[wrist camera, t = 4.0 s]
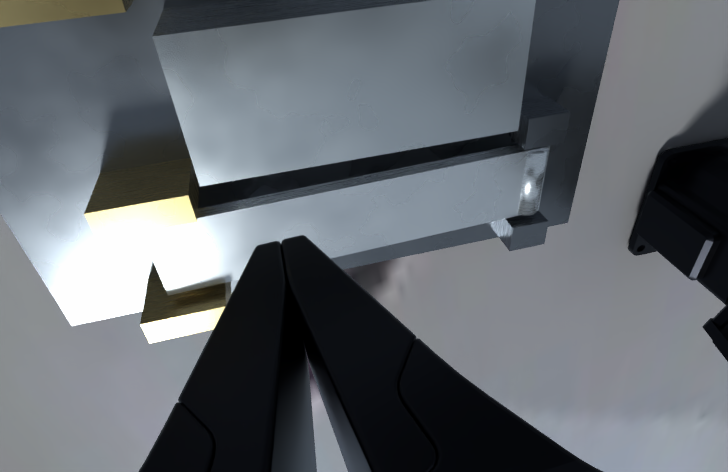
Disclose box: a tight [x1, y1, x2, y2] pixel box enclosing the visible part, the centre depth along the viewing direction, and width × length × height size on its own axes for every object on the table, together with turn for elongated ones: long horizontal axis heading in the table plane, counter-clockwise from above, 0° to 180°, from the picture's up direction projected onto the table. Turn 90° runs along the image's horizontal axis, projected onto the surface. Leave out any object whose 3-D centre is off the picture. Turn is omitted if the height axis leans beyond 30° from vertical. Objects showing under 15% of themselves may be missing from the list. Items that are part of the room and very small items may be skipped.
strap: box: [141, 144, 550, 296], centre depth 18 cm, size 15×3×1 cm, turn 94°
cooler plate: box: [0, 0, 619, 343], centre depth 15 cm, size 22×19×5 cm
